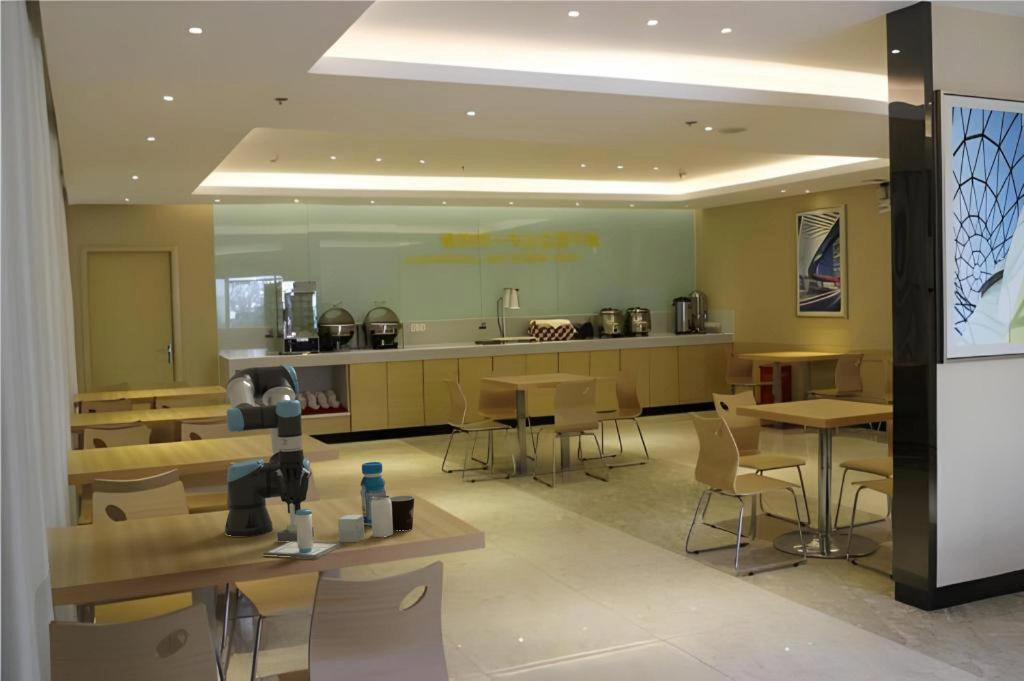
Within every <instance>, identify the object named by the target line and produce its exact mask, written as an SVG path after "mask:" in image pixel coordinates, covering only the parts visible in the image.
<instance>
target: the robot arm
mask: <svg viewBox="0 0 1024 681" xmlns="http://www.w3.org/2000/svg"><path fill="white" fill-rule="evenodd" d="M299 389H300V388H299V382H298V376H297V372H296V371H295V368H294V367H293V366H291V365H282V364H279V365H278V366H277V365H276V366H275V365H274V366H256V367H252V366H251V367H248V368H244V369H241V370H240V371H237V372H236V373H235V374H233V375H232V376H231V377H230V378H229V379H228V381H227V383H226V386H225V394H226V396H227V399H229V402H230V406H231V408H228V409H227V410H226V425H227V430H228V431H229V432H234V433H235V432H239V433H241V432H247V431H248V432H249V431H260V430H269V432H270V439H271V448H272V449H271V450H272V455H271V456H270V458H269V460H268V462H265V460H264V459H263V458H252V459H246V460H242V461H239V462H236V463H233V464H231V465H230V466H229V467H228V468H227V472H226V474H227V476H226V477H227V479H226V482H227V492H228V493H227V494H228V507H229V508H228V509H229V511H228V515H227V519H226V522H225V526H224V534H225V533H226V534H227V535H231V536H248V537H253V536H252V535H255V536H259V535H258V534H261V535H263V533H264V534H267V533H266V532H268V533H270V532H272V531H273V530H272V529H273V528H274V527H273V521H272V518H271V516H270V513H269V511H268V508H267V504H266V503H267V502H266V501H267V500H266V499H271V498H280V500H281V502H282V503H283V502H284V503H286V504H287V505H286V506H287V512H288V514H289V519H290V520H289V521H290V524H291V525H296V524H297V520H296V511H297V510H300V509H302V508H301V507H302V506H301V504H302V502H305V501H306V500H307V494H308V491H309V488H310V477H311V476H312V471H311V470H310V462H311V461H310V459H309V458H305V456H304V450H303V447H304V443H303V431H302V430H303V429H302V409H301V402H300V400H298V399H296V397H298V396H299V392H300V390H299ZM255 400H261V401H262V403H263V405H258V406H256V405H255V404H256V403H255ZM271 530H272V531H271ZM269 531H270V532H269Z"/></svg>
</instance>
